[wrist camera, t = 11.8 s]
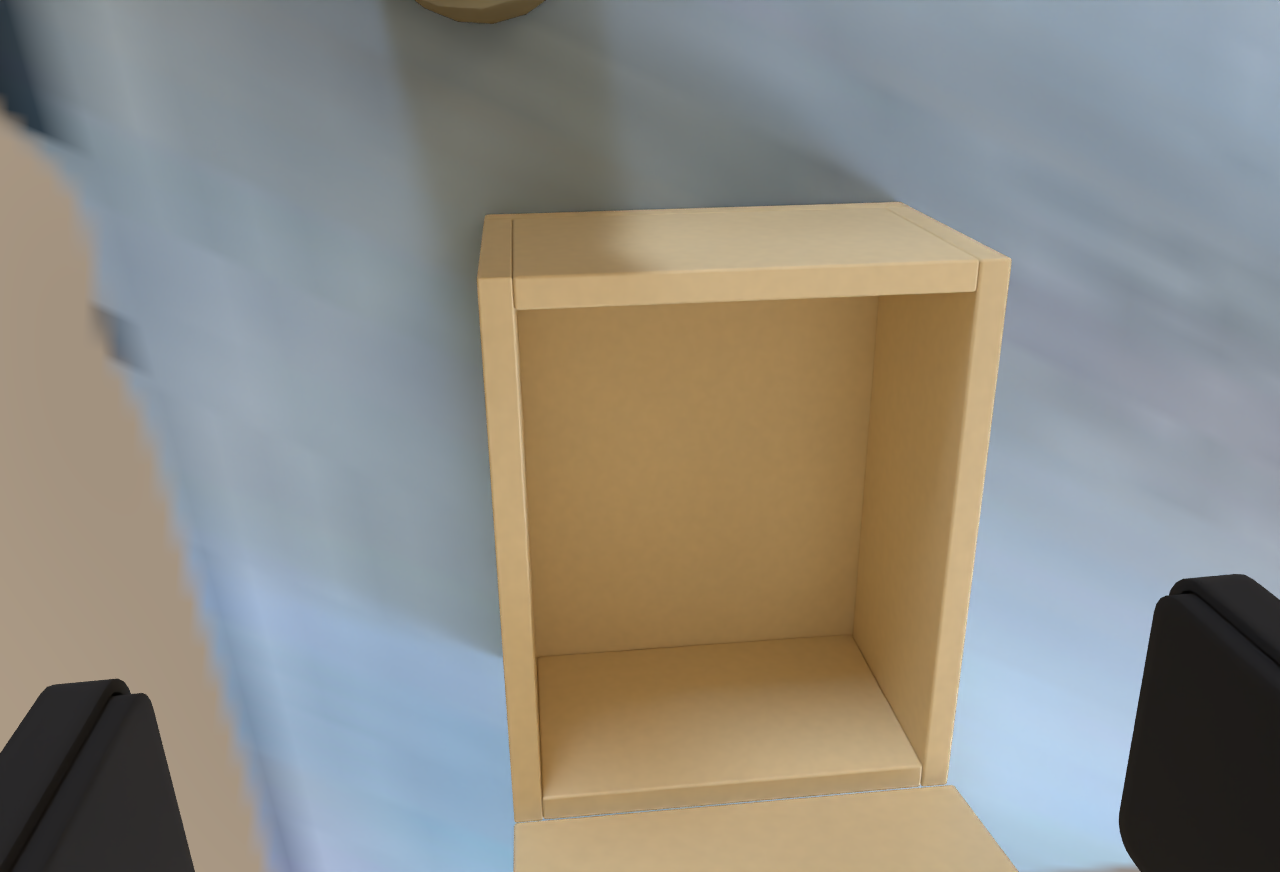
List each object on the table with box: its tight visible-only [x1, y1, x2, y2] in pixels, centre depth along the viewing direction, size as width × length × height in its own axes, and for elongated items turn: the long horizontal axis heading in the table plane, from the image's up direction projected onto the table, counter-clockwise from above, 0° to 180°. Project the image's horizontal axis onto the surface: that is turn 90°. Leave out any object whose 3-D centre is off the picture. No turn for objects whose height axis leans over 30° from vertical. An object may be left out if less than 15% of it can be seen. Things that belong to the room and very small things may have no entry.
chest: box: [477, 202, 1011, 822], centre depth 31 cm, size 16×13×8 cm
